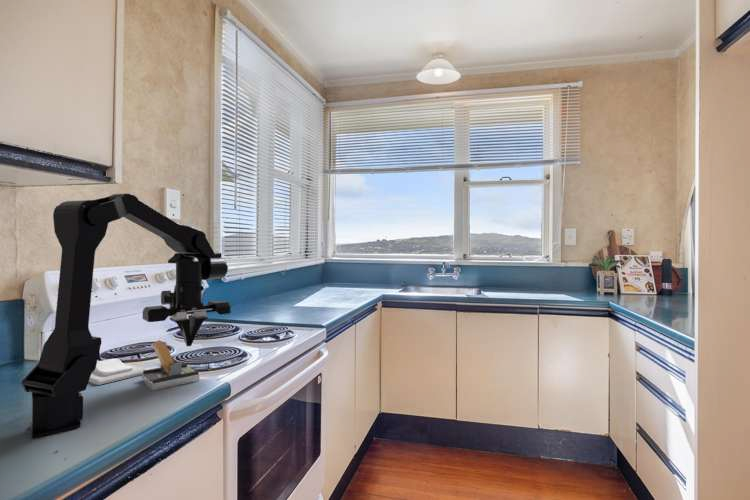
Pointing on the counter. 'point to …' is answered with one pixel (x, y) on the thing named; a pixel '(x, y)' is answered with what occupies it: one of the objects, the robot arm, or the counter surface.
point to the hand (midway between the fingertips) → (188, 345)
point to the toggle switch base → (169, 376)
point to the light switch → (113, 371)
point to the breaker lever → (163, 354)
